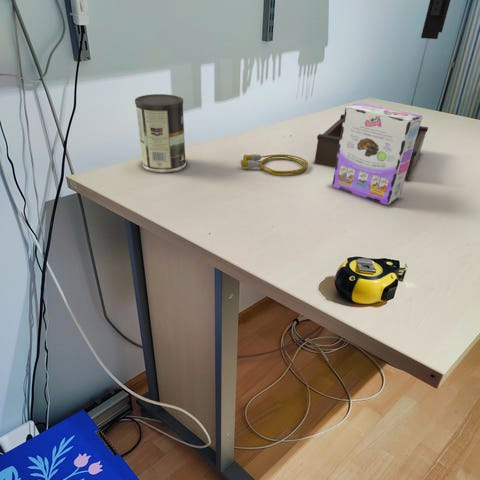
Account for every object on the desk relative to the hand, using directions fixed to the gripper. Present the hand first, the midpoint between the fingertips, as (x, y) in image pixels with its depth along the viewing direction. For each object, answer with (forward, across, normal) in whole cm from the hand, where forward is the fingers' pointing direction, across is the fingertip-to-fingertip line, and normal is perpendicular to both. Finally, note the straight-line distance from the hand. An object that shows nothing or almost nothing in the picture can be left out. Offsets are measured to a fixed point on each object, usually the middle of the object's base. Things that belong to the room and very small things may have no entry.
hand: (431, 35), depth 79 cm
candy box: (+28, +9, -5) cm, 30 cm away
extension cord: (+28, +4, -28) cm, 39 cm away
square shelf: (+28, -14, -8) cm, 32 cm away
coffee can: (+28, +16, -51) cm, 60 cm away
